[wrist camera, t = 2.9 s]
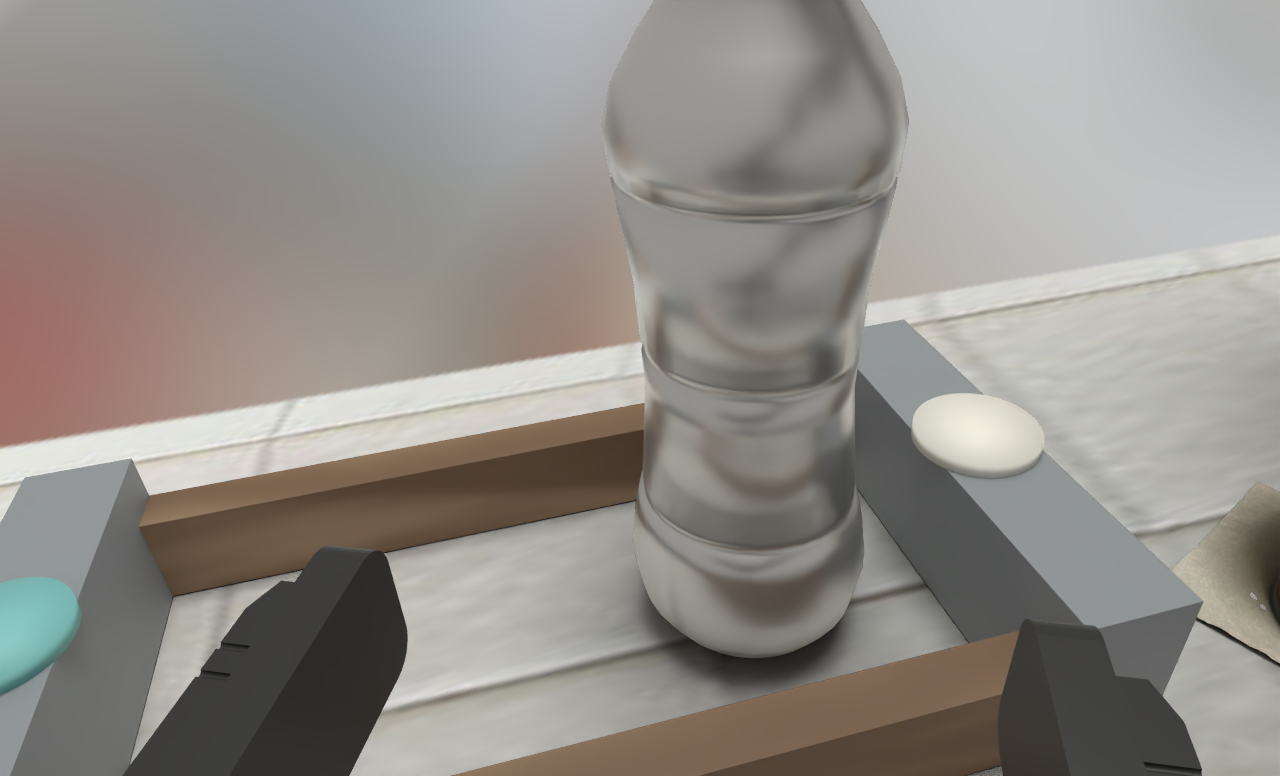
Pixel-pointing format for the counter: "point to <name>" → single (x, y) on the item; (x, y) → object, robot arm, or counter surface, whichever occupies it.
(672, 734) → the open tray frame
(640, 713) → the counter surface
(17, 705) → the grey end board
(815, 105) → the plastic bottle
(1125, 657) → the grey beam
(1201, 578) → the condiment
